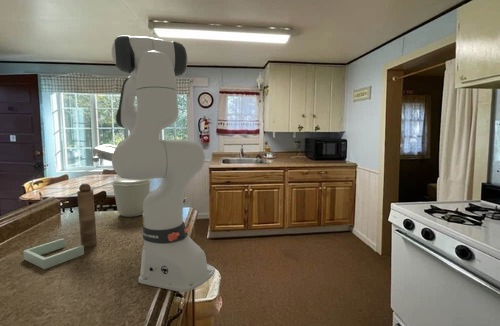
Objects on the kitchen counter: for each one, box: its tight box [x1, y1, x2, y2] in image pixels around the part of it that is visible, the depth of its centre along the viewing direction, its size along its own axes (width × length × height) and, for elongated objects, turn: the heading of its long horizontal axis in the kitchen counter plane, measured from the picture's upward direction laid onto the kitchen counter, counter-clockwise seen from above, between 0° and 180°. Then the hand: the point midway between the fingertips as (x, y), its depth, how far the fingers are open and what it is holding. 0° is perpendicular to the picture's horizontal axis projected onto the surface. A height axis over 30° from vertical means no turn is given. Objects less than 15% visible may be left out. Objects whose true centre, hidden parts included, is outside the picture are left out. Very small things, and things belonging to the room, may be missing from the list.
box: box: [22, 238, 85, 270], centre depth 94 cm, size 13×12×3 cm
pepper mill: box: [76, 182, 98, 248], centre depth 103 cm, size 5×5×23 cm
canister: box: [111, 177, 152, 218], centre depth 140 cm, size 18×18×21 cm
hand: (104, 162), depth 105 cm, fingers open, 8 cm apart
